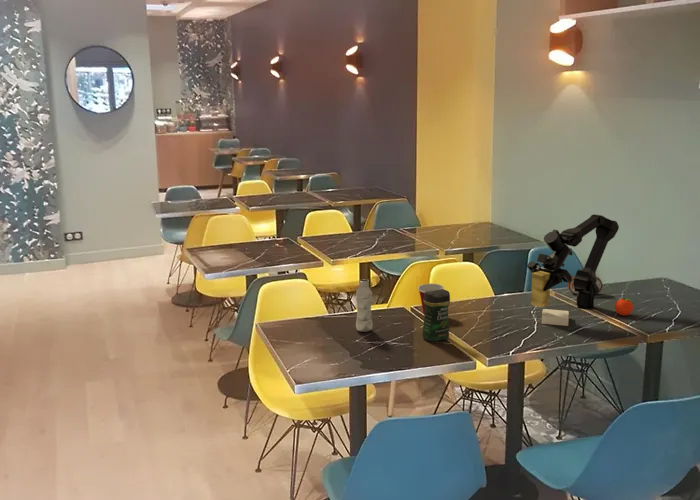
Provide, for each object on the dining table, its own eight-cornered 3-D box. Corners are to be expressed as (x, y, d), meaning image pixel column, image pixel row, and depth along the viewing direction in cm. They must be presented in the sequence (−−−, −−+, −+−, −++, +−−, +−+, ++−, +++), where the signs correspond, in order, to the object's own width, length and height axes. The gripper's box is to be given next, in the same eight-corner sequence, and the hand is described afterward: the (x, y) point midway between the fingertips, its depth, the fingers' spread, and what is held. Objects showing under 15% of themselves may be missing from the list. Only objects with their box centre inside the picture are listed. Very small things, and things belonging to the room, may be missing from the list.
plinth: (568, 318, 287) (568, 310, 286) (568, 325, 278) (568, 318, 277) (542, 316, 290) (542, 308, 289) (541, 323, 281) (542, 316, 280)
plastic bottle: (374, 329, 276) (374, 279, 271) (369, 334, 270) (369, 283, 265) (358, 327, 278) (358, 277, 274) (353, 332, 272) (353, 282, 267)
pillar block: (539, 302, 287) (540, 270, 284) (549, 304, 283) (550, 273, 280) (531, 304, 284) (532, 273, 281) (540, 307, 280) (542, 275, 277)
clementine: (632, 312, 293) (633, 296, 292) (637, 318, 286) (638, 301, 285) (612, 312, 294) (613, 295, 292) (616, 317, 287) (618, 300, 286)
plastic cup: (413, 317, 289) (414, 289, 287) (421, 310, 299) (422, 282, 296) (440, 320, 285) (440, 291, 283) (446, 312, 295) (447, 284, 292)
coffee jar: (431, 343, 259) (432, 294, 255) (419, 337, 266) (419, 289, 262) (452, 339, 264) (454, 291, 260) (440, 333, 271) (441, 286, 267)
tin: (600, 293, 321) (602, 275, 320) (602, 295, 318) (603, 277, 317) (566, 292, 323) (567, 274, 321) (568, 294, 320) (569, 276, 318)
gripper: (530, 241, 288) (511, 273, 284) (568, 250, 273) (548, 282, 270) (542, 257, 294) (523, 288, 291) (580, 266, 279) (561, 298, 276)
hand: (538, 289), depth 281 cm, fingers closed on pillar block, 5 cm apart
